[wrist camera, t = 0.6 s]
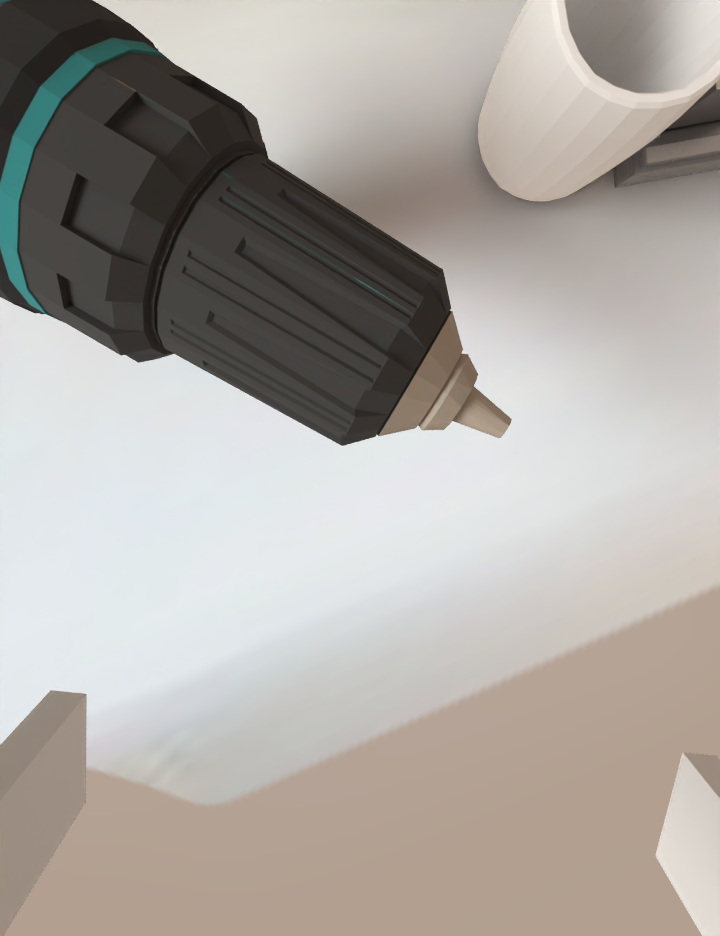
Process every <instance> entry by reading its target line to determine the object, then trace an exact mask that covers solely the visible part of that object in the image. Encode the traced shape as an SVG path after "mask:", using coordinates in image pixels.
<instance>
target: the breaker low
mask: <svg viewBox="0 0 720 936" xmlns="http://www.w3.org/2000/svg"><path fill="white" fill-rule="evenodd" d="M716 120H720V79H719V80H718V81H717V82H716V83H715V84H714V85H713V86H712V87H711V88H710V89H709V90H708V91H707V92H706V93H705V94H704V95H703V96H702V97H701V98H700V99H699V100H697V101H696V102H695V103H694V104H693V105H692V106H691V107H690V108H689V109H688V110H687V111H686V112H685V113H684V114H683V115H682V116H681V117H680V118H678V119H677V120H676V121H675V122H674V123H673V124H671V125H670V126H669V127H668V128H667V129H671V128H676V127H682V126H688V125H693V124H699V123H705V122H710V121H716Z"/></svg>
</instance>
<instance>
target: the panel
mask: <svg viewBox="0 0 720 936" xmlns="http://www.w3.org/2000/svg"><path fill="white" fill-rule="evenodd" d="M718 169H720V120H716V121H710V122H705V123H699V124H693V125H688V126H682V127H676V128H671V129H665V130H664V131H663V132H662V133H661V134H659V135H658V136H657V137H656V138H655V139H653V140H652V141H651V142H649V143H648V144H647V145H645V146H644V147H643V148H641V149H640V150H638V151H637V152H636V153H634V154H633V155H631V156H630V157H629V158H627V159H626V160H624V161H623V162H621V163H620V164H618V165H617V166H615V167H614V171H615V187H620V186H626V185H632V184H637V183H643V182H649V181H655V180H661V179H666V178H672V177H678V176H684V175H689V174H695V173H701V172H707V171H712V170H718Z"/></svg>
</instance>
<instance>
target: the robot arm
mask: <svg viewBox="0 0 720 936" xmlns="http://www.w3.org/2000/svg"><path fill="white" fill-rule="evenodd" d="M85 802H86V694H82V693H71V692H61V691H50V692H49V693H48V694H47V695H46V696H45V697H44V698H43V700H42V701H41V702H40V703H39V704H38V705H37V706H36V707H35V708H34V709H33V710H32V711H31V713H30V714H29V715H28V716H27V717H26V718H25V719H24V720H23V721H22V722H21V723H20V724H19V726H18V727H17V728H16V729H15V730H14V731H13V732H12V733H11V734H10V735H9V736H8V737H7V739H6V740H5V741H4V742H3V743H2V744H1V745H0V936H4V934H5V932H6V931H7V929H8V928H9V926H10V924H11V923H12V921H13V919H14V918H15V916H16V915H17V913H18V911H19V910H20V908H21V906H22V905H23V903H24V902H25V900H26V898H27V897H28V895H29V893H30V892H31V890H32V888H33V887H34V885H35V884H36V882H37V880H38V879H39V877H40V876H41V874H42V872H43V871H44V869H45V867H46V866H47V864H48V863H49V861H50V859H51V858H52V856H53V854H54V853H55V851H56V849H57V848H58V846H59V844H60V843H61V841H62V840H63V838H64V837H65V835H66V833H67V832H68V830H69V828H70V827H71V825H72V824H73V822H74V820H75V819H76V817H77V815H78V813H79V812H80V811H81V809H82V807H83V806H84V804H85ZM656 857H657V859H658V861H659V863H660V864H661V866H662V868H663V869H664V871H665V873H666V875H667V876H668V878H669V880H670V881H671V883H672V885H673V887H674V888H675V890H676V891H677V893H678V895H679V896H680V898H681V900H682V902H683V904H684V905H685V907H686V909H687V910H688V912H689V914H690V916H691V917H692V919H693V921H694V922H695V924H696V926H697V928H698V929H699V931H700V933H701V934H702V936H720V759H719V758H718V757H717V756H713V755H704V754H694V753H693V754H692V753H682V757H681V761H680V765H679V768H678V772H677V776H676V780H675V784H674V787H673V792H672V795H671V799H670V803H669V807H668V810H667V814H666V818H665V821H664V825H663V830H662V833H661V837H660V840H659V845H658V848H657V852H656Z"/></svg>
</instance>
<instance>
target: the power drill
mask: <svg viewBox="0 0 720 936" xmlns="http://www.w3.org/2000/svg"><path fill="white" fill-rule="evenodd" d="M0 297H2V298H4V299H6V300H7V301H9V302H11V303H13V304H15V305H17V306H20V307H22V308H24V309H27V310H29V311H31V312H33V313H40V314H47V315H49V316H51V317H54V318H56V319H58V320H60V321H63V322H65V323H67V324H68V325H70V326H72V327H73V328H75V329H77V330H79V331H80V332H82V333H84V334H85V335H87V336H89V337H91V338H92V339H94V340H96V341H97V342H99V343H101V344H103V345H104V346H106V347H108V348H109V349H111V350H113V351H115V352H116V353H118V354H120V355H127V356H128V357H130V358H132V359H133V360H135V361H137V362H138V363H139V362H144V361H149V360H153V359H158V358H162V357H165V356H168V355H171V354H176V355H178V356H180V357H181V358H183V359H185V360H187V361H189V362H190V363H192V364H194V365H196V366H198V367H200V368H201V369H203V370H205V371H207V372H209V373H211V374H212V375H214V376H216V377H218V378H220V379H221V380H223V381H225V382H227V383H229V384H231V385H232V386H234V387H236V388H238V389H240V390H242V391H243V392H245V393H247V394H249V395H251V396H252V397H254V398H256V399H258V400H260V401H262V402H263V403H265V404H267V405H269V406H271V407H272V408H274V409H276V410H278V411H280V412H282V413H283V414H285V415H287V416H289V417H291V418H293V419H294V420H296V421H298V422H300V423H302V424H303V425H305V426H307V427H309V428H311V429H313V430H314V431H316V432H318V433H320V434H322V435H324V436H325V437H327V438H329V439H331V440H333V441H334V442H336V443H338V444H340V445H342V446H344V445H347V444H351V443H354V442H358V441H361V440H365V439H369V438H372V437H375V436H376V435H378V436H382V435H386V434H391V433H396V432H400V431H405V430H409V429H414V428H416V427H417V426H418V425H419V427H420V428H421V429H422V430H444V429H445V428H446V427H447V426H448V425H449V424H450V423H451V422H452V421H454V422H457V423H460V424H462V425H465V426H468V427H471V428H473V429H476V430H479V431H481V432H484V433H487V434H489V435H492V436H495V437H497V438H501V436H502V435H503V434H504V433H505V432H506V430H507V428H508V427H509V425H510V423H511V418H510V417H508V416H507V415H506V414H505V413H504V412H503V411H501V410H500V409H499V408H498V407H497V406H496V405H495V404H493V403H492V402H491V401H490V400H489V399H488V398H487V397H485V396H484V395H483V394H482V393H481V392H480V391H478V390H477V389H476V388H475V387H474V384H475V382H476V380H477V376H478V373H477V371H476V369H475V368H474V366H473V364H472V362H471V360H470V358H469V356H468V354H461V353H462V350H463V348H462V345H461V341H460V337H459V334H458V330H457V327H456V323H455V319H454V316H453V312H452V311H450V309H451V305H450V300H449V296H448V291H447V286H446V282H445V277H444V272H443V269H441V268H439V267H438V266H436V265H435V264H433V263H432V262H430V261H428V260H427V259H425V258H424V257H422V256H421V255H419V254H417V253H416V252H414V251H413V250H411V249H409V248H408V247H406V246H405V245H403V244H402V243H400V242H398V241H397V240H395V239H394V238H392V237H391V236H389V235H387V234H386V233H384V232H383V231H381V230H380V229H378V228H376V227H375V226H373V225H372V224H370V223H369V222H367V221H365V220H364V219H362V218H361V217H359V216H358V215H356V214H354V213H353V212H351V211H350V210H348V209H346V208H345V207H343V206H342V205H340V204H339V203H337V202H335V201H334V200H332V199H331V198H329V197H328V196H326V195H324V194H323V193H321V192H320V191H318V190H317V189H315V188H313V187H312V186H310V185H309V184H307V183H306V182H304V181H302V180H301V179H299V178H298V177H296V176H295V175H293V174H291V173H290V172H288V171H287V170H285V169H283V168H282V167H280V166H279V165H277V164H276V163H274V162H272V161H271V160H269V159H268V155H267V151H266V148H265V144H264V142H263V140H262V136H261V133H260V129H259V125H258V121H257V118H256V117H255V116H254V115H253V114H252V113H251V112H249V111H248V110H247V109H246V108H245V107H244V106H243V105H242V104H241V103H239V102H237V101H236V100H234V99H232V98H231V97H229V96H227V95H226V94H224V93H222V92H221V91H219V90H217V89H216V88H214V87H212V86H210V85H209V84H207V83H205V82H204V81H202V80H200V79H199V78H197V77H195V76H194V75H192V74H190V73H189V72H187V71H185V70H184V69H182V68H180V67H179V66H177V65H175V64H174V63H172V62H171V61H170V60H169V59H168V58H167V57H165V56H164V55H163V54H162V53H160V52H159V51H158V49H157V48H155V46H154V44H153V43H152V42H151V41H150V40H149V39H148V38H146V37H145V36H144V35H143V34H142V33H140V32H139V31H138V30H137V29H136V28H134V27H133V26H132V25H131V24H129V23H128V22H126V21H124V20H123V19H121V18H120V17H119V16H117V15H116V14H114V13H113V12H111V11H110V10H108V9H107V8H105V7H103V6H101V5H100V4H98V3H96V2H94V1H92V0H0Z"/></svg>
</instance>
